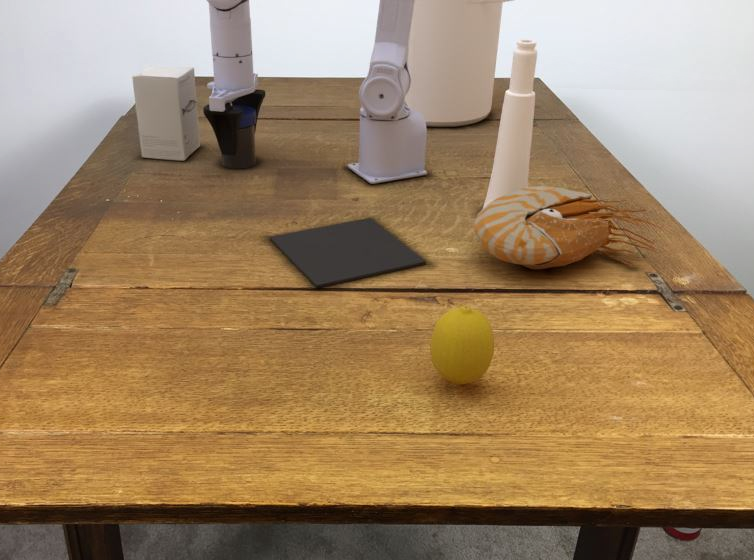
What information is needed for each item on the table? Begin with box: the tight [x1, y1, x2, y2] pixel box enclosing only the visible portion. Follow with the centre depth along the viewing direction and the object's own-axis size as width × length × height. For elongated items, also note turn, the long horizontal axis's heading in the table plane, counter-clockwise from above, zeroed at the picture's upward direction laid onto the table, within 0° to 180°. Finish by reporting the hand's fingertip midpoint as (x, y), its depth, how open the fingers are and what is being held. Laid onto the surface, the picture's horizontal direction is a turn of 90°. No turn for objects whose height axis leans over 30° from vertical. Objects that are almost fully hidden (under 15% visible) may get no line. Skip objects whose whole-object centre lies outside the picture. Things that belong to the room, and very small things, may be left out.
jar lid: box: [231, 105, 258, 128], centre depth 117 cm, size 6×6×2 cm
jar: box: [220, 124, 257, 170], centre depth 119 cm, size 5×5×7 cm
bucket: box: [405, 0, 514, 128], centre depth 138 cm, size 26×22×25 cm
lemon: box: [429, 305, 495, 386], centre depth 69 cm, size 6×6×8 cm
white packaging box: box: [131, 64, 201, 162], centre depth 121 cm, size 7×7×13 cm
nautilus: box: [473, 185, 661, 270], centre depth 91 cm, size 8×22×15 cm
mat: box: [269, 217, 427, 289], centre depth 94 cm, size 14×14×1 cm
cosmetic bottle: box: [482, 39, 538, 210], centre depth 98 cm, size 6×6×22 cm
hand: (238, 146), depth 119 cm, fingers open, 7 cm apart
